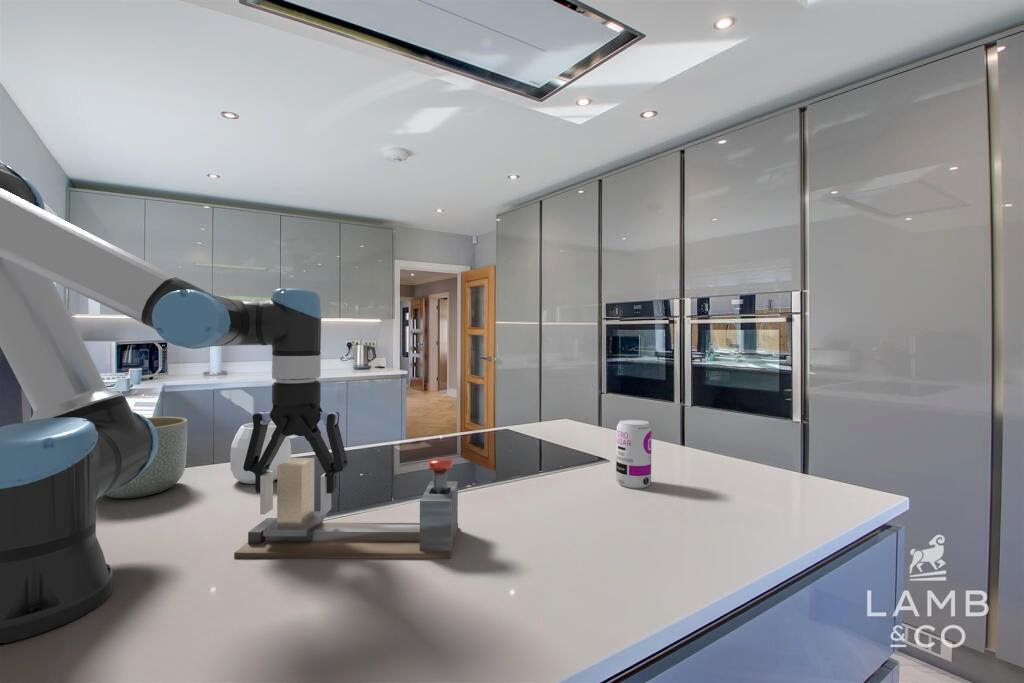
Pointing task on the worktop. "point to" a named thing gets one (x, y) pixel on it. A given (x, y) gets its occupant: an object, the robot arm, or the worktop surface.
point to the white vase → (241, 448)
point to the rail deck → (342, 548)
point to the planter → (160, 460)
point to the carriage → (295, 503)
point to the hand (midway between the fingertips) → (296, 511)
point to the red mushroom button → (440, 473)
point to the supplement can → (633, 453)
